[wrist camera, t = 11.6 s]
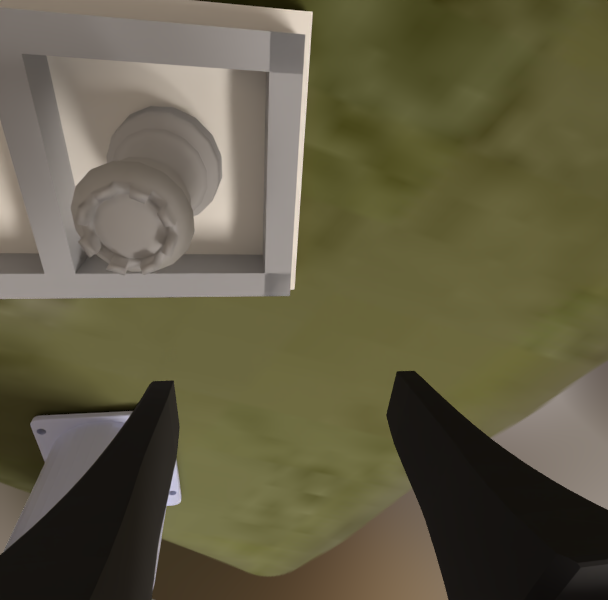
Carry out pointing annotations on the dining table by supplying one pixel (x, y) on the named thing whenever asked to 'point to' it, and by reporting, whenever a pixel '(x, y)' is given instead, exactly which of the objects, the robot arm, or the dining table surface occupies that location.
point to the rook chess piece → (147, 191)
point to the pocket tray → (134, 97)
